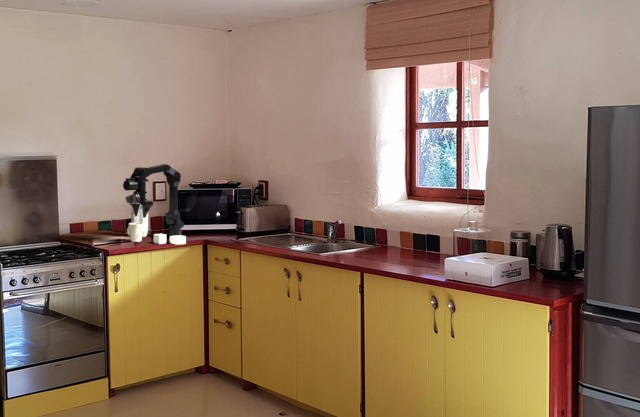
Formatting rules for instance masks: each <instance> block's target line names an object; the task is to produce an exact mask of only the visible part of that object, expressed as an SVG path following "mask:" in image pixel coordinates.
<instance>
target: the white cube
mask: <svg viewBox="0 0 640 417" xmlns="http://www.w3.org/2000/svg"><path fill="white" fill-rule="evenodd" d="M153 244H157V245H163V244H167V234H164V233H155V234H153Z"/></svg>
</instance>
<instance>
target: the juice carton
mask: <svg viewBox="0 0 640 417" xmlns="http://www.w3.org/2000/svg"><path fill="white" fill-rule="evenodd" d="M146 199H147V200H149V199H148V198H146ZM139 204H140V203H139ZM130 206H131V205H130ZM140 206H141V204H140ZM130 211H131V214H130V216H131V220H130V223H143V224H144V225H143V232H142V238H146V237H147V235H148V232H149V212H148V213H147V215H146V217H145V218H143V210H142V208H141V207H139V211H138V215H137V216H135V214H134V211H133V208H132V206H131V210H130Z"/></svg>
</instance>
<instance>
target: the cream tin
mask: <svg viewBox="0 0 640 417" xmlns="http://www.w3.org/2000/svg"><path fill="white" fill-rule="evenodd" d="M186 239H187V236H186V235H182V234H181V235H173V236H170V237H169V244H170V243H171V244H170V245H185V244H186V243H187V240H186Z"/></svg>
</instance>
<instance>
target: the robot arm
mask: <svg viewBox="0 0 640 417" xmlns="http://www.w3.org/2000/svg"><path fill="white" fill-rule="evenodd" d="M159 173H162V174H163V175H164V176H165V177H166V182H167V185H168V189H169V190H168V191H169V192H168V194H169V195H168V197H169V198H168V199H169V200H168V201H169V202H168V205H169V206H168V211H167V212H165V218H164V220H165V222H166V223H167V227H169V235H168V236H167V237H168V238H170V236H173V235H181V236H182V228H184V226H185V223H184V222H183V220H181V214H180V212H179V209H178V208H179V206H178V203H179V202H178V200H179V199H178V198H179V196H178V194H179V192H178V190H179V189H178V188H179V185H180V182H181V177H182V175H181V173H180V172H179V171H178V170H176V169H175V168H173V167H171V165H169V164H167V163H162V164H158V165H154V166H149V167H141V166H139V167H138V166H137V167H135V168H134V170H133V172H132V174H130V177H127V178H125V180H124V181H123V184H122V187H123V190H124V191H133V192H132V194H130V195H127V196H125V201H126V203H127V204H128V205H130V206H132V208H133V211H134V214H135V216H137V215H138V211H139V207H141V208H142V210H143V218H145V217H146V215H147V213H148V214H149V212H150V210H151V208H152V207H153V206H154V201H153V200H150V199H148V198H147V199H148V200H147V199H146V194H148V191H147V190H146V189H147V188H146V186H147V182H150V181H149V179H148V177H150V176H151V175H153V174H159ZM139 203H140V204H141V206H140V204H139Z"/></svg>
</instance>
